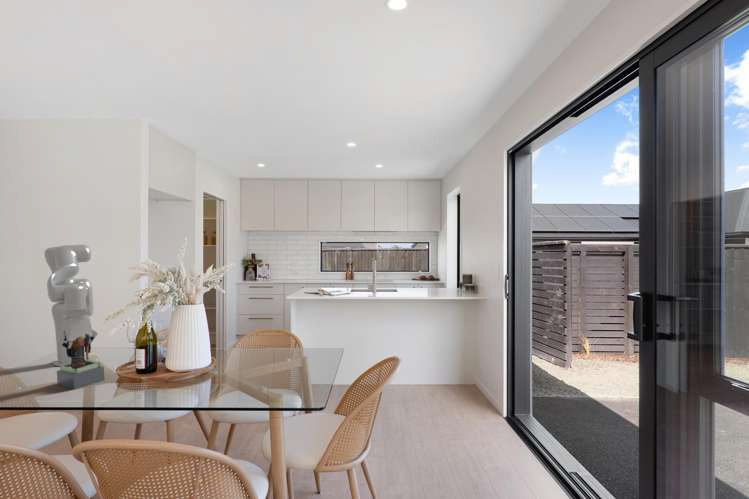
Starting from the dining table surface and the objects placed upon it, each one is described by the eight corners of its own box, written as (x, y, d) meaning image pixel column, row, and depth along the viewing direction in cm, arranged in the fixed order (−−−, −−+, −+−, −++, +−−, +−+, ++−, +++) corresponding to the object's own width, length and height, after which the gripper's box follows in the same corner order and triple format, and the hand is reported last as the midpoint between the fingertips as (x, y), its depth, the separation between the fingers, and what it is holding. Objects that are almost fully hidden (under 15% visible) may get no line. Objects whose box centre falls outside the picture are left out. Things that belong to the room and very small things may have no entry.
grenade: (88, 367, 182) (87, 333, 181) (67, 369, 179) (66, 334, 179) (92, 363, 187) (91, 330, 187) (71, 366, 184) (70, 332, 184)
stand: (57, 384, 181) (56, 366, 181) (87, 375, 192) (86, 358, 191) (74, 389, 174) (72, 370, 174) (104, 380, 185) (103, 362, 185)
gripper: (93, 309, 191) (95, 348, 192) (48, 317, 176) (52, 359, 177) (102, 310, 188) (104, 350, 188) (57, 318, 173) (61, 361, 173)
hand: (79, 354), depth 183 cm, fingers closed on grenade, 6 cm apart
